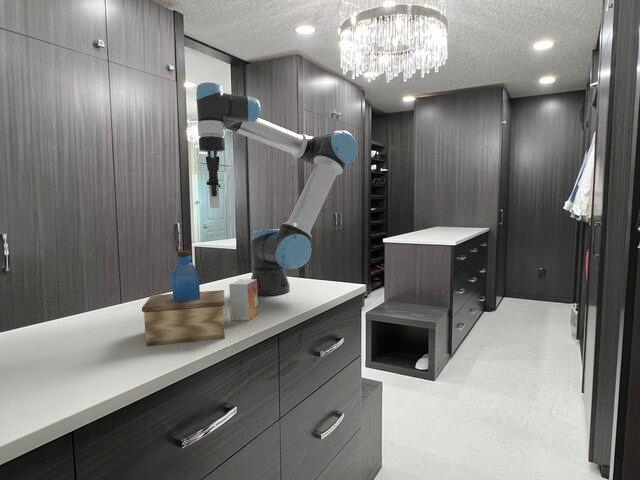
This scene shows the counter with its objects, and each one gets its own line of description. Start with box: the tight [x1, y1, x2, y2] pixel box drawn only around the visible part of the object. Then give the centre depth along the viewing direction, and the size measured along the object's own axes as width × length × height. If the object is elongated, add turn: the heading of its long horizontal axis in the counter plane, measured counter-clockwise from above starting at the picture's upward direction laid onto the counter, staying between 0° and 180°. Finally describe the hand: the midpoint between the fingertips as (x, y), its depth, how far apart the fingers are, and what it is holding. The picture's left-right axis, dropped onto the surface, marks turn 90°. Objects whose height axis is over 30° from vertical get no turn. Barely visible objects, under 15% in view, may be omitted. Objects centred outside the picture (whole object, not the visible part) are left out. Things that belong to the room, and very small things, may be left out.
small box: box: [228, 278, 259, 322], centre depth 120 cm, size 8×6×10 cm
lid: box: [141, 289, 226, 313], centre depth 105 cm, size 19×14×2 cm
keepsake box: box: [143, 305, 226, 347], centre depth 106 cm, size 18×14×8 cm
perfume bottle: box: [171, 250, 201, 302], centre depth 105 cm, size 6×6×12 cm
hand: (215, 208), depth 126 cm, fingers open, 13 cm apart
